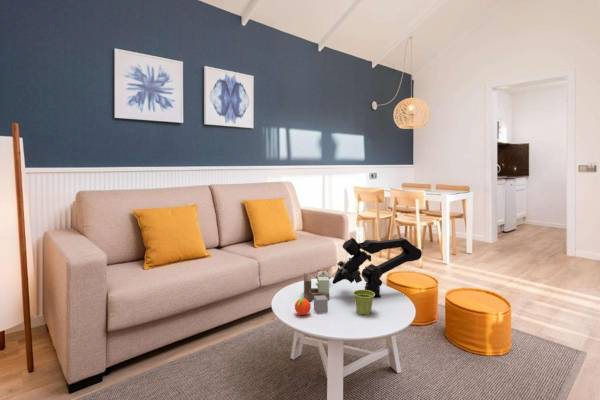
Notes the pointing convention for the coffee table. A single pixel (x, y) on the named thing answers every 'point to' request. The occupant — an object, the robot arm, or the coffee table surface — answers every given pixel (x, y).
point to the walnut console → (311, 289)
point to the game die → (323, 274)
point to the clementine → (302, 306)
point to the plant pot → (363, 301)
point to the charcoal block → (320, 304)
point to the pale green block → (323, 285)
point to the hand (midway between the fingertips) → (333, 283)
